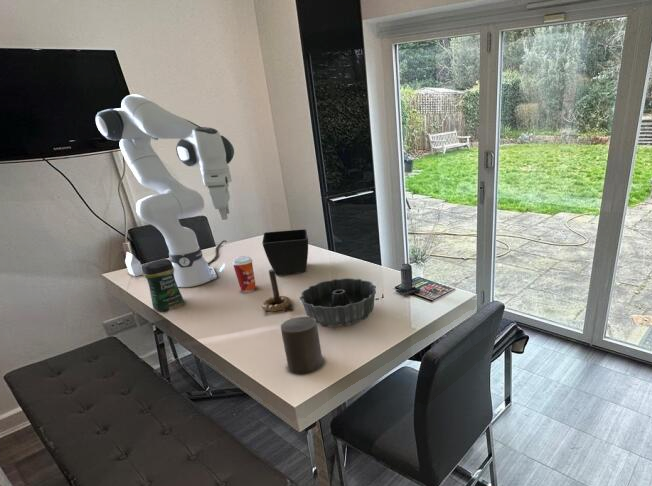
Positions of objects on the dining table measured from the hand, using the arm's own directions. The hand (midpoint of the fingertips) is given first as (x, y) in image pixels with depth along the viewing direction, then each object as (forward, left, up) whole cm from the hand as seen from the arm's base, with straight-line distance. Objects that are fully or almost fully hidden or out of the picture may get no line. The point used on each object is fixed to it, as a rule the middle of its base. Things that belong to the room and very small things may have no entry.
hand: (225, 216), depth 148 cm
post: (+12, +12, -34) cm, 38 cm away
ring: (+13, +12, -32) cm, 36 cm away
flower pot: (-29, +19, -34) cm, 49 cm away
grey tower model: (+19, +61, -34) cm, 72 cm away
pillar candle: (+56, +18, -34) cm, 68 cm away
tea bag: (-54, -48, -34) cm, 80 cm away
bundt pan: (+29, +33, -34) cm, 56 cm away
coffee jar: (-7, -27, -34) cm, 44 cm away
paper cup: (-11, +1, -34) cm, 36 cm away
